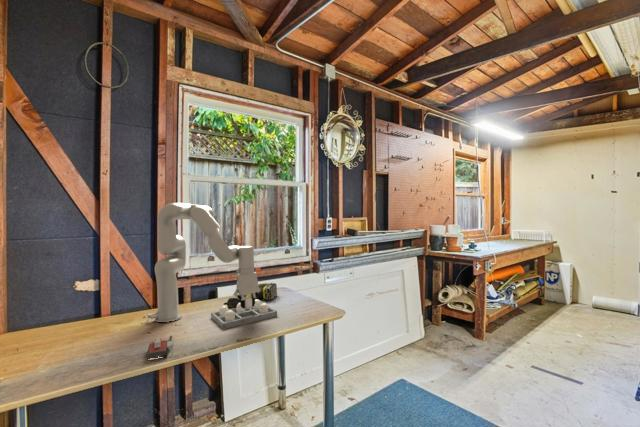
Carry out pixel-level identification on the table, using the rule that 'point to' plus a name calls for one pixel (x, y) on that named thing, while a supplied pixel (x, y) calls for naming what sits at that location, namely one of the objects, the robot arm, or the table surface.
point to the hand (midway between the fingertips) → (247, 306)
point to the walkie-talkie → (159, 348)
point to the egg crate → (242, 314)
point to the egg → (248, 302)
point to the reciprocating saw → (266, 292)
